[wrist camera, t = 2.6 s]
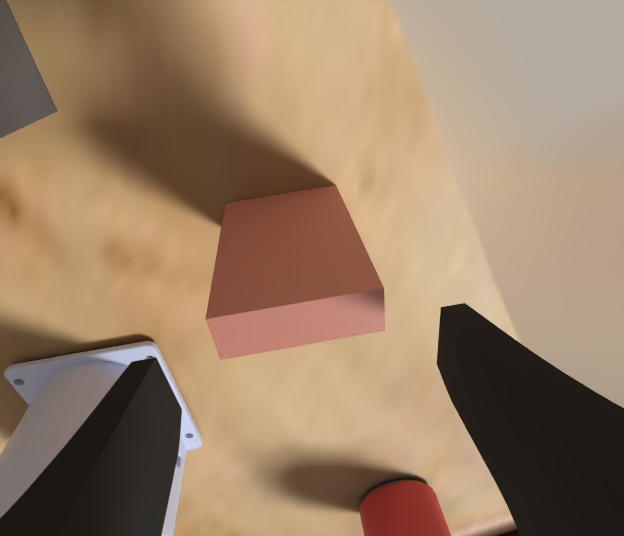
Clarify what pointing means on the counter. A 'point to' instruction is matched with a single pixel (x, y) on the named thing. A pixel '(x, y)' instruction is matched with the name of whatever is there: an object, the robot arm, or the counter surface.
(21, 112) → the domino
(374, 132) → the counter surface
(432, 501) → the beer can
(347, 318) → the red domino
